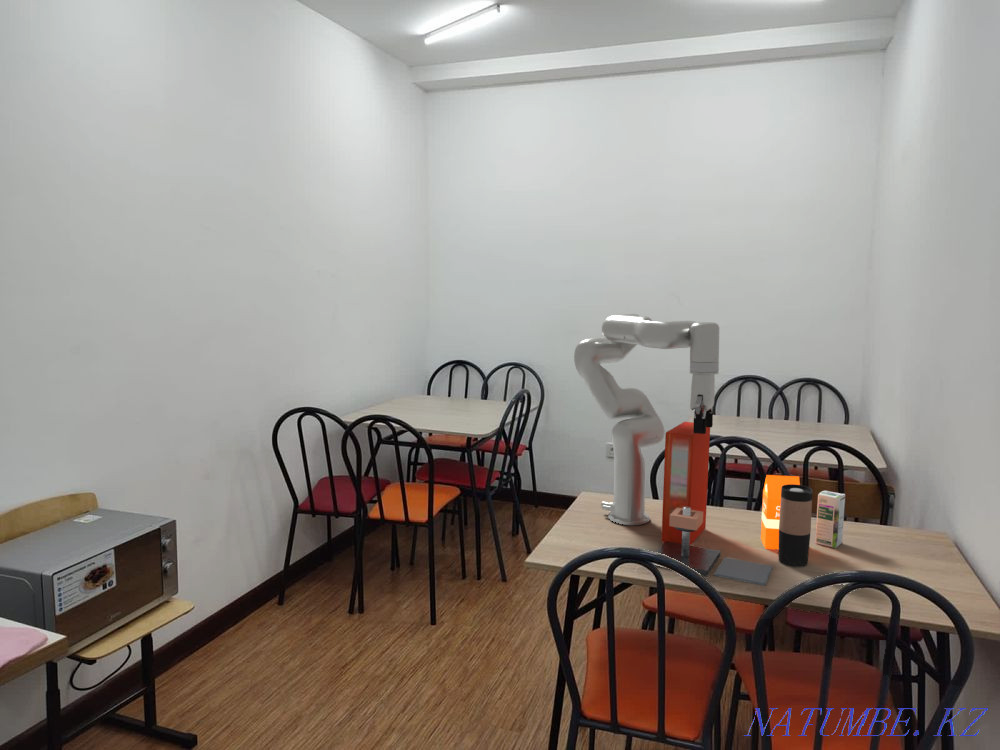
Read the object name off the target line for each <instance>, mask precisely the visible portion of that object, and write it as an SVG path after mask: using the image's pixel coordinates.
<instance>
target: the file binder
mask: <svg viewBox="0 0 1000 750" xmlns="http://www.w3.org/2000/svg"><path fill="white" fill-rule="evenodd" d="M693 428H694V421H692V422H691V421H683V422H681V423H680V424H678V425H676V426H674V427H673V428H671V429H669V430H668V431H666V432H665V435H664V438H665V440H664V441H665V442H664V466H663V467H664V468H663V488H662V489H663V495H662V512H661V513H662V517H661V518H662V519H661V539H660V541H661V543H662V544H663V543H664V542H665V541H668V542H674V543H679V544H682V531H679V530H677V529H675V527H672V526H669V522H670V514H671V513H672V512H673V511H674V510H675V509H676V508H683V507H690V508H691V510H697V511H703V523H702V524H701V526H700V527H699V528H698V530H697V531H694V532H690V546H692V544H693V543H694V542H695V541H696V540H697V539H698V537H700V536H701V534H702V533H703V532H704V531H705V529H706V527H707V525H706V524H707V523H706V522H707V506H708V505H707V503H708V483H709V481H708V480H709V463H710V462H709V460H710V442H711V441H710V439H711V427H706V433H705V434H698V433H694V432H693Z"/></svg>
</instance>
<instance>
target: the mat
mask: <svg viewBox="0 0 1000 750" xmlns="http://www.w3.org/2000/svg"><path fill="white" fill-rule="evenodd" d="M773 566H774V565H769V564H764V563H759V562H754V561H748V560H741V559H737V558H731V557H724V558H723V559H722V561H721V563H720V564H719V565H718V567H717V569H716V570H715V572H714V573H713V574H714V575H715V577H719V576H720V578H724V577H725V579H729V578H730V580H734V579H735V580H734V581H739V580H740V582H744V581H745V582H744V583H749V582H750V583H749V584H753V585H759V586H763V587H764V586H766V584H767V581H768V579H769V577H770V575H771V572H772V570H773Z"/></svg>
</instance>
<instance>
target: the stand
mask: <svg viewBox="0 0 1000 750" xmlns="http://www.w3.org/2000/svg"><path fill="white" fill-rule="evenodd" d="M683 515H685V516H691V508H690V507H683ZM675 529H677V530H679V531H682V544H679V543H674V542H668V541H665V542H664V543H663V542H662V544H661V545H660V547H659V548H657V550H656V551H655V552H658V553H661V554H665V555H667V556H669V557H671V558H674V559H676V560H678V561H680V562H682V563H684V564H685V565H687V566H689V567H690V568H692V569H694V570H695V571H697V572H698V573H700V574H701V575H702V576H703V577H708V576H709V574H710V572H711V571H712V569H713V568H714V566H715V565H716V564H717V562H718V561H719V559H720V557H721V554H722V553H721V552H722V551H721V550H719V549H718V550H716V549H711V548H706V547H700V546H697V545H695V546H694V545H690V532H694V531H697V530H698V529H697V530H690V529H684V528H678V527H675ZM656 567H657V568H661V567H660V566H656ZM701 575H700V576H701Z"/></svg>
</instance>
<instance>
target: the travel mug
mask: <svg viewBox="0 0 1000 750" xmlns="http://www.w3.org/2000/svg"><path fill="white" fill-rule="evenodd" d="M812 507H813V489H812V488H811V487H809V486H806V485H802V484H800V485H795V484H788V485H783V486H782V488H781V504H780V520H779V550H778V561H779V563H780V564H782V565H785V566H788V567H792V568H804V567H806V566H808V564H809V563H808V562H809V554H810V553H809V552H810V543H811V542H810V541H811V532H812V530H811V528H812V513H813V512H812V509H813V508H812Z"/></svg>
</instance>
